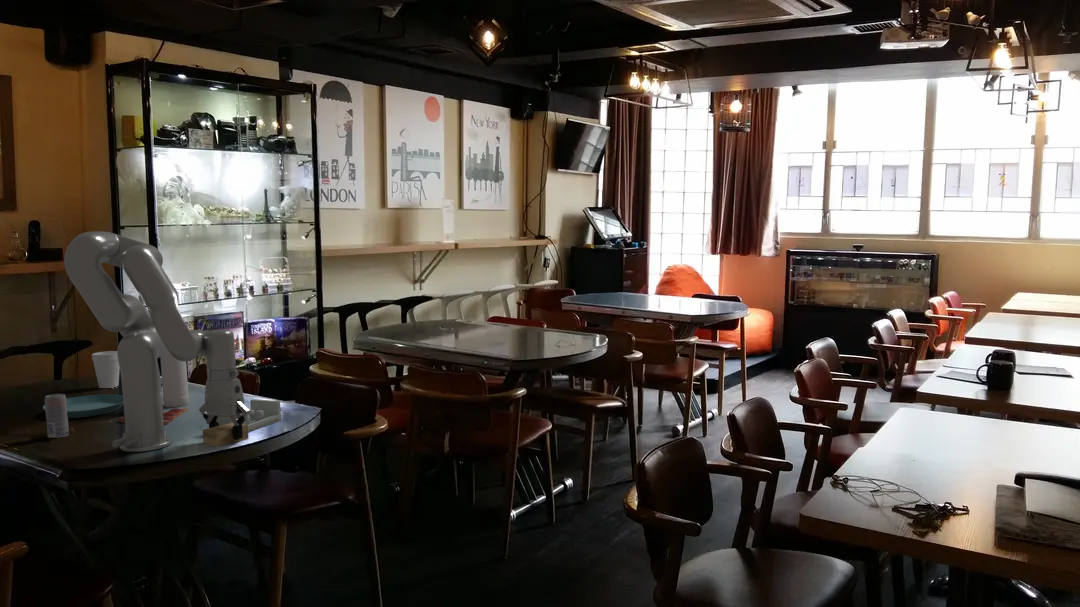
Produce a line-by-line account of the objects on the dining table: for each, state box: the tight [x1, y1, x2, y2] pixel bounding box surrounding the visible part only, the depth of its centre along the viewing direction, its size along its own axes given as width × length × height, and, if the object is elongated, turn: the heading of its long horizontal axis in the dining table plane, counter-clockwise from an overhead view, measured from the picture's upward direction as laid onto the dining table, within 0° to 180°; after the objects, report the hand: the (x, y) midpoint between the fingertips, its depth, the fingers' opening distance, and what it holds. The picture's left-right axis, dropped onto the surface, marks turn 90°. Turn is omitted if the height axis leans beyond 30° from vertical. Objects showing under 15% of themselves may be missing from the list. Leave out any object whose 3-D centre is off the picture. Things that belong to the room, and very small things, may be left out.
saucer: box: [42, 394, 124, 419], centre depth 278 cm, size 24×24×3 cm
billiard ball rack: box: [116, 407, 189, 426], centre depth 268 cm, size 18×2×20 cm
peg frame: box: [216, 398, 282, 434], centre depth 252 cm, size 18×10×6 cm, turn 161°
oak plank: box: [202, 423, 249, 448], centre depth 235 cm, size 10×6×4 cm, turn 144°
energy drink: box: [44, 393, 70, 439], centre depth 245 cm, size 5×5×12 cm
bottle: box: [159, 348, 190, 408], centre depth 283 cm, size 8×8×30 cm
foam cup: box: [91, 350, 120, 389], centre depth 318 cm, size 10×9×13 cm
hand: (226, 437), depth 235 cm, fingers closed on oak plank, 7 cm apart
